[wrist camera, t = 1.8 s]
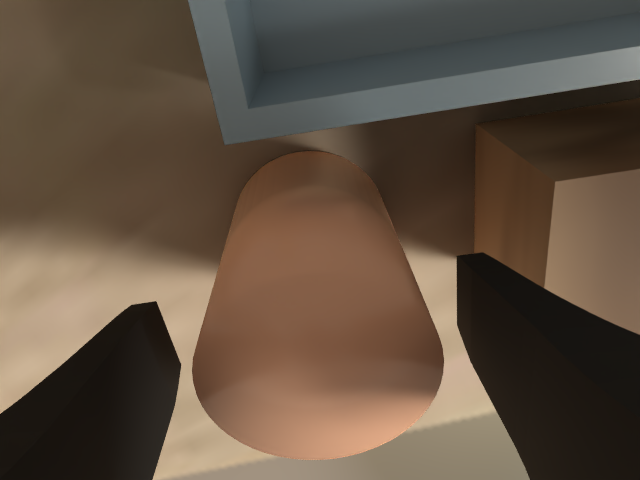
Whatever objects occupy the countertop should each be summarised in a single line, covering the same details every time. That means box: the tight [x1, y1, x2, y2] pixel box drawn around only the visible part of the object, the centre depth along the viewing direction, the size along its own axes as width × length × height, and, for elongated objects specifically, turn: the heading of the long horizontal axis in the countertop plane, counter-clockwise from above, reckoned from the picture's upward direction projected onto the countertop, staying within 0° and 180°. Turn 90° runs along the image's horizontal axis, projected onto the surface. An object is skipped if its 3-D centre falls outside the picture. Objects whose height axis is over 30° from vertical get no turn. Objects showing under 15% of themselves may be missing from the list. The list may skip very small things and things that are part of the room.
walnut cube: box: [474, 98, 640, 335], centre depth 13 cm, size 5×5×5 cm
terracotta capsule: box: [192, 151, 444, 460], centre depth 12 cm, size 5×5×7 cm
